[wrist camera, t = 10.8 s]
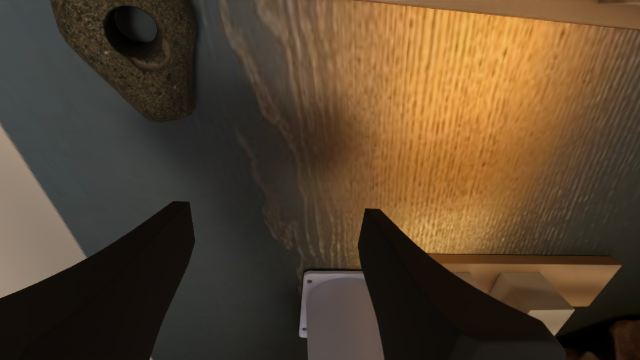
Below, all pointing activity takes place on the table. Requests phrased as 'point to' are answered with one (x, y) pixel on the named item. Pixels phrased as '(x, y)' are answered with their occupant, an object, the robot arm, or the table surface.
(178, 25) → the stone tool
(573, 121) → the table surface
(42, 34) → the table surface
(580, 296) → the far rack
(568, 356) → the coin bank
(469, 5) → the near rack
